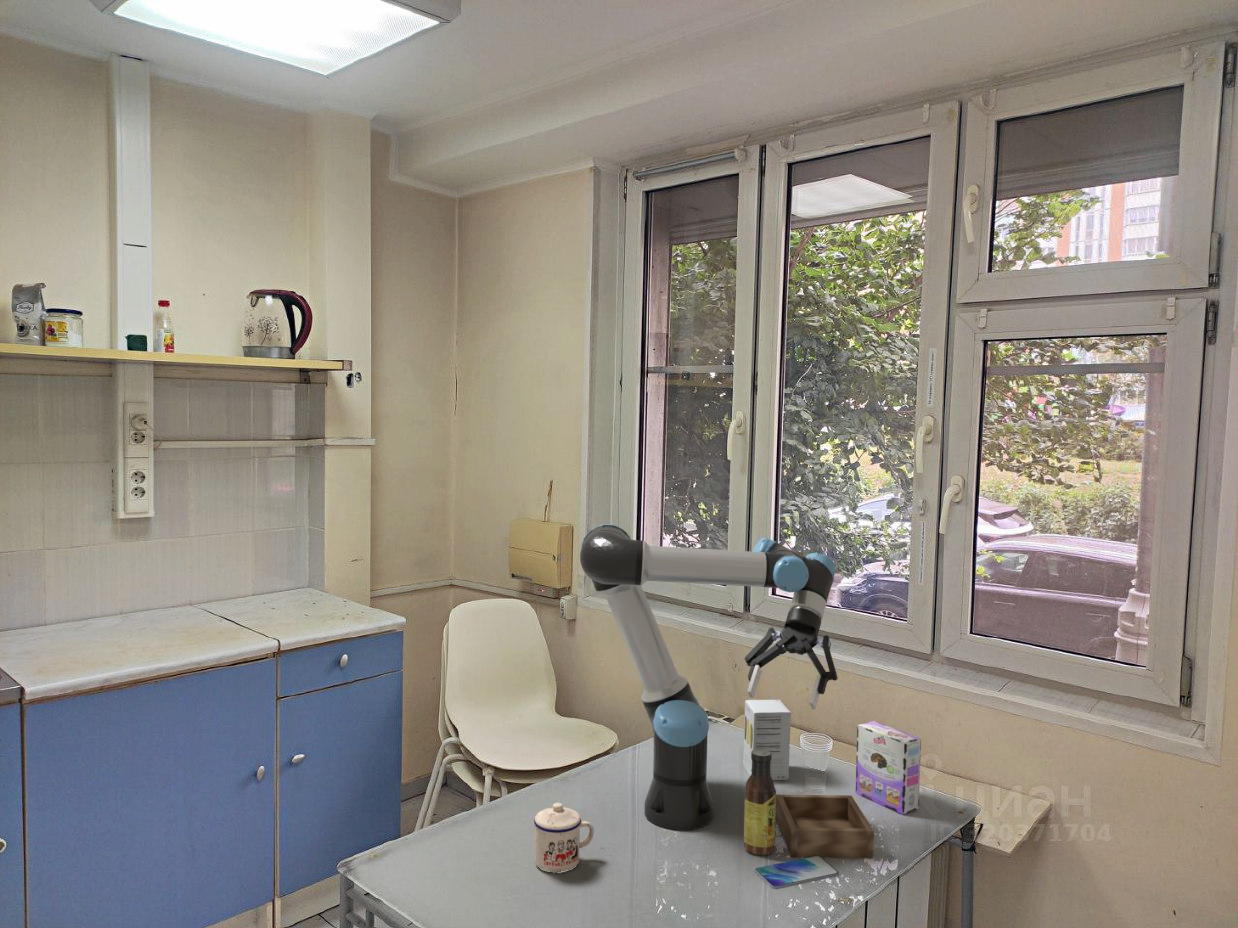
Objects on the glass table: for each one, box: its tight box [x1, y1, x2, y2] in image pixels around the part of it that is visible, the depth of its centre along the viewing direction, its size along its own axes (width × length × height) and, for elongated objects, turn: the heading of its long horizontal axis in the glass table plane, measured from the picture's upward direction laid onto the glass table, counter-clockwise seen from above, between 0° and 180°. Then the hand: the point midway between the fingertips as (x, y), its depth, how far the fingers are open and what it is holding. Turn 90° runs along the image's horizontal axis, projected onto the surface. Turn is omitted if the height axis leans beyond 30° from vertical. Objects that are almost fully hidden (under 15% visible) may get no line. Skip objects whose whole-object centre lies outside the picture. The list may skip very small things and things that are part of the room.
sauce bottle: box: [743, 749, 777, 856], centre depth 179 cm, size 7×6×20 cm
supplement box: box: [742, 699, 792, 781], centre depth 217 cm, size 10×9×17 cm
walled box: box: [775, 793, 875, 859], centre depth 185 cm, size 16×16×6 cm
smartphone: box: [754, 856, 840, 890], centre depth 171 cm, size 7×1×15 cm
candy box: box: [854, 720, 922, 815], centre depth 202 cm, size 14×6×16 cm, turn 34°
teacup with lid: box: [533, 802, 595, 872], centre depth 173 cm, size 12×9×12 cm
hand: (780, 700), depth 187 cm, fingers open, 13 cm apart
